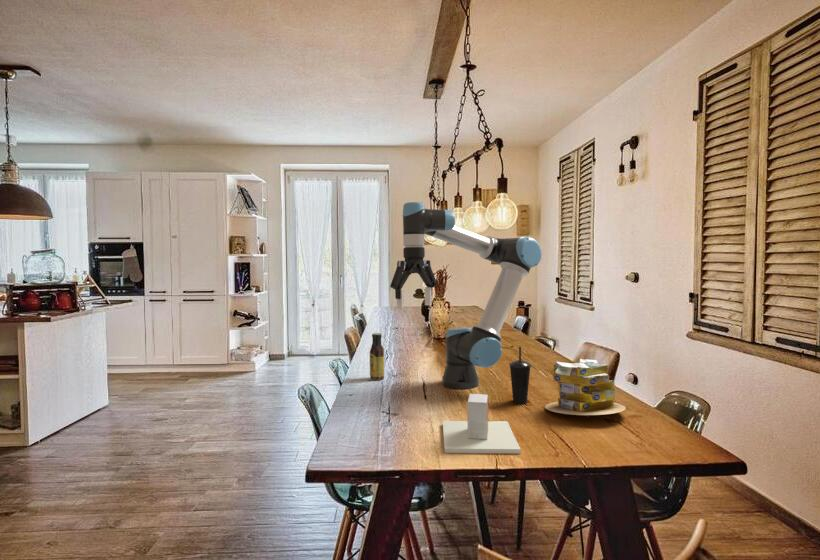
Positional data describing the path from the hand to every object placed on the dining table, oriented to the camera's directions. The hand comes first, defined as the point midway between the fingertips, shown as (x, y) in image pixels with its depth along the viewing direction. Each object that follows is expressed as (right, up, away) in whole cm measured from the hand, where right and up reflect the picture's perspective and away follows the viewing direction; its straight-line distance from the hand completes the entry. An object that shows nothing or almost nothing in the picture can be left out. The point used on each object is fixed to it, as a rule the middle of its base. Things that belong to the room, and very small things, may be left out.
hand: (414, 306), depth 157 cm
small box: (+18, -35, -29) cm, 49 cm away
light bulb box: (+68, -33, +16) cm, 78 cm away
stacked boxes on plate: (+56, -35, -9) cm, 67 cm away
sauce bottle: (-16, -33, +34) cm, 50 cm away
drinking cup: (+38, -34, +2) cm, 51 cm away
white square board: (+18, -36, -29) cm, 50 cm away
